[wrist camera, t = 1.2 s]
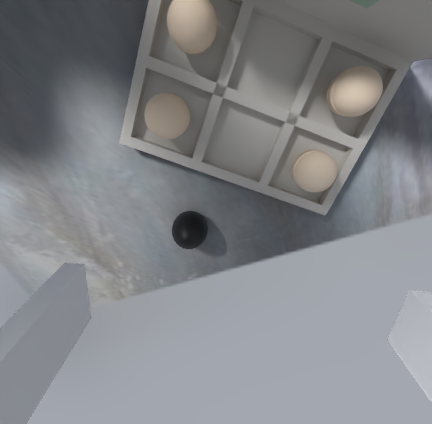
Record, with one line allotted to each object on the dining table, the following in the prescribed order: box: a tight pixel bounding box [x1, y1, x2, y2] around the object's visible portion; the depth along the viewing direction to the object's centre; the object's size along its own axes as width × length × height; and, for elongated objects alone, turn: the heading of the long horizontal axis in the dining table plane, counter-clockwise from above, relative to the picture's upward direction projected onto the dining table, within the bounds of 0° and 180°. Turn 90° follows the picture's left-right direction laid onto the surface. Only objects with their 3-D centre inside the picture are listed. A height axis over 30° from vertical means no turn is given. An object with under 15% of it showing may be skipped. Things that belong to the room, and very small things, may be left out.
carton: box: [119, 0, 432, 216], centre depth 20 cm, size 24×17×14 cm
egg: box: [172, 211, 208, 249], centre depth 30 cm, size 4×4×5 cm
